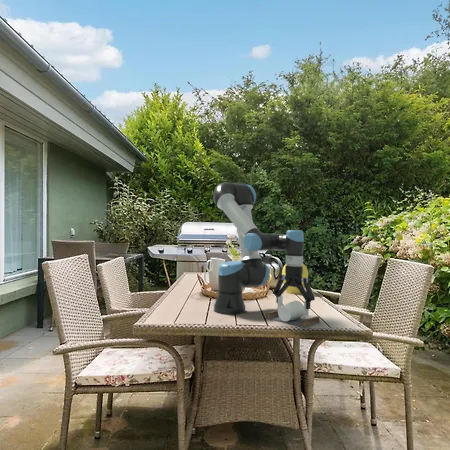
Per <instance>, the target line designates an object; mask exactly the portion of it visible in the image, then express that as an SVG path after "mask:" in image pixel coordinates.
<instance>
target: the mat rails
mask: <svg viewBox="0 0 450 450" xmlns="http://www.w3.org/2000/svg"><path fill="white" fill-rule="evenodd" d="M276 316H279V315H278V311H277V309H276V310H273V311H268V312H267V311H266V313H265V319H266V318H272V317H276ZM320 318H321V316H318V315H316V316H313V317H309V318H304V319H305V320H302V326H308V325H311V324H314V323H317V324H319V323H318V322H321V320H320ZM314 325H315V324H314ZM311 326H312V325H311ZM308 327H309V326H308Z"/></svg>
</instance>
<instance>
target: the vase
mask: <svg viewBox="0 0 450 450" xmlns="http://www.w3.org/2000/svg"><path fill="white" fill-rule="evenodd" d="M286 265H287V264H286V263H285V264H284V266H283V267H282V271H281V272H282V273H281V275H285V276H286V273H285V266H286ZM301 266H302V267H303V274H302V278H309V271H308V268H307V266H306V265H305V264H304V263H303V265H301ZM285 282H286V280H284V282H283V284H284V283H285ZM301 283H302V285H303V287H304V289H305V286H304V283H303V281H302V282H301ZM299 286H300V285H299ZM305 290H306V289H305ZM285 291H286V293H287V294H288V293H289V294H291V295H292V294H294V295H300V294H301V292H300V291H299V289H298V288H297V287H293V286H288V288H287V289H286V290H285ZM301 295H302V294H301Z"/></svg>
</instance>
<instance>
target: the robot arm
mask: <svg viewBox="0 0 450 450" xmlns="http://www.w3.org/2000/svg"><path fill="white" fill-rule="evenodd" d="M212 195H213V197H212V198H213V201H214V204H215V205H216V207H217V208H218V209H219V210H221V211H223V212H224V214H225V215H226V216H227V218H228V219H229V220H230V222H231V223H232V224H233V225H234V227H235V228H236V230H237V237H238V243H239V245H238V246H239V251H240V256H241V258H240V260H233V261H232V260H230V261H224V262H221V263H220V264H219V265H218V272H217V274H218V275H217V277H218V280H217V295H216V299H215V303H214V305H213V311H214V312H215V313H219V314H225V315H237V314H243V313H245V312H246V305H245V301H244V298H243V289H245V288H258V287H262V286H265V285H266V284H267V283H268V280H269V278H270V269H269V266H268V265H267V264H266V263H264V261H263V257H261V256H260V255H259V252H260V251H262V252H263V251H284V252H285V265H286V264H287V265H286V266H285V265H284V266H285V273H286V276H285V275H282V274H280V275H279V276H278V281H277V283H276V285H275V287H274V289H273V292H272V294H273V295H274V296H275V297H276V301H275V302H276V304H277V309H276V310H277V311H278V310H279V308H280V307H281V306H283V304H284V303H283V302H284V301H283V298H284V297H283V294H284V292H285V291H286V289H287V288H288V286H293V287H297V288H298V289H299V291H300V292H301V296H302V297H303V299H304V300H305V301H303V306H304V315H303V318H306V317H309V313H310V311H309V310H310V309H311V302H312V301H315V300H316V298H315V296H314V293H313V291H312V286H311V284H310V278H309V277H308V278H302V274H303V267H302V266H301V265H303V264H304V245H305V244H304V242H305V239H304V238H305V237H304V231H303V230H300V229H299V230H298V229H297V230H296V229H292V230H291V229H288V230H286V234H285V233H284V234H283V233H274V232H272V233H263V232H261V231H260V229H259V228H258V227H257V226H256V224H255V223H254V221H253V216H252V210H253V208H254V206H255V205H254V204H255V203H256V200H257V193H256V190H255V189H254V186H252V185H250V184H246V183H237V182H226V181H225V182H222V183H220V184H218V185H217V186H216V187H215V188H214V191H213V194H212ZM284 280H286V282H285V283H283V282H284ZM302 281H303V283H304V286H305V289H304V287H303V285H302V283H301V282H302ZM299 285H300V286H299Z"/></svg>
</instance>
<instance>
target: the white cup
mask: <svg viewBox="0 0 450 450" xmlns="http://www.w3.org/2000/svg"><path fill="white" fill-rule="evenodd" d="M278 315H279V318H280V319H281V320H282V321H291V320H295V319H298V318H303V317H304V303H302V302H300V301H299V300H293V301H290V302H288V303H284V304H282V306H281V307H280V308H279V310H278Z"/></svg>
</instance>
